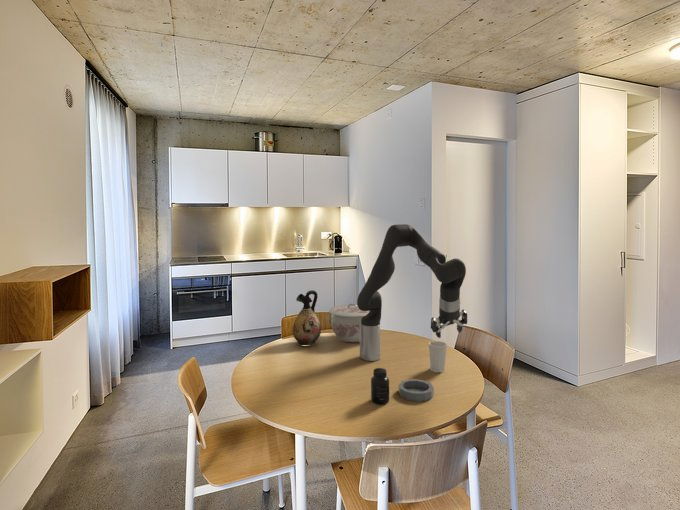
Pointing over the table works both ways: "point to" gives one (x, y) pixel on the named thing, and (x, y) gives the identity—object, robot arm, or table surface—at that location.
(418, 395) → the dish
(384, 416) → the table surface
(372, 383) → the supplement bottle
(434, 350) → the cup
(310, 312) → the ceramic jug
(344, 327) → the chamber pot
